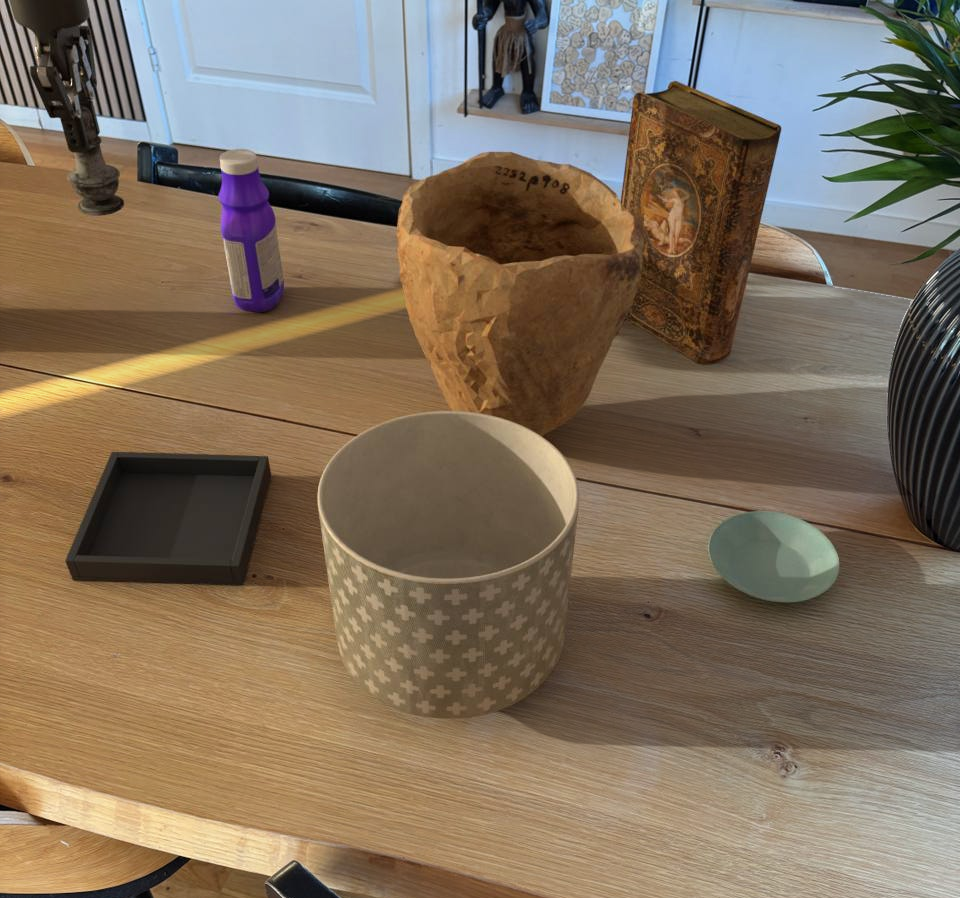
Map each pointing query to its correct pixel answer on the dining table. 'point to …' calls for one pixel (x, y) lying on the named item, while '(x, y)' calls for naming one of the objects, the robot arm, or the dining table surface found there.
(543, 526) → the planter
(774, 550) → the saucer
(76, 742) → the dining table surface
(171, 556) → the tray
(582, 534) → the dining table surface
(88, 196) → the chess piece
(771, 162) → the book
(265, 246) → the bottle
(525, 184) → the tan textured vessel
